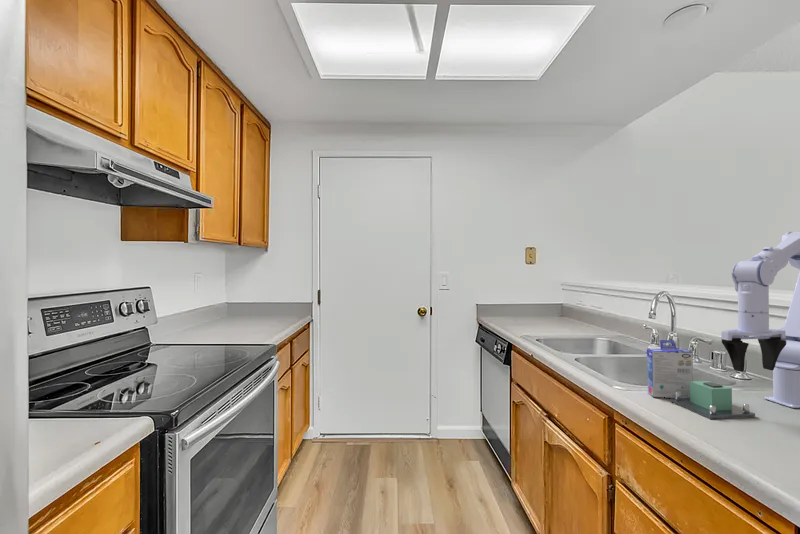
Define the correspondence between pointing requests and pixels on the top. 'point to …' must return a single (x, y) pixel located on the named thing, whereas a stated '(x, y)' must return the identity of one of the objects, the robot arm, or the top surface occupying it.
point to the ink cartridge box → (669, 371)
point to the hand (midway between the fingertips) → (753, 370)
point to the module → (711, 395)
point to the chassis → (712, 409)
